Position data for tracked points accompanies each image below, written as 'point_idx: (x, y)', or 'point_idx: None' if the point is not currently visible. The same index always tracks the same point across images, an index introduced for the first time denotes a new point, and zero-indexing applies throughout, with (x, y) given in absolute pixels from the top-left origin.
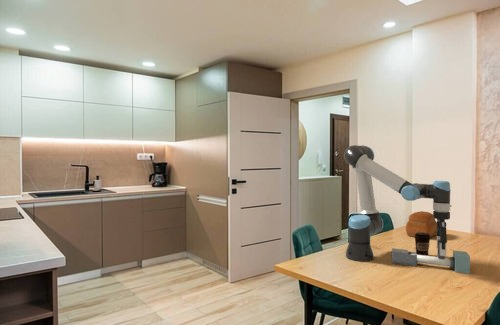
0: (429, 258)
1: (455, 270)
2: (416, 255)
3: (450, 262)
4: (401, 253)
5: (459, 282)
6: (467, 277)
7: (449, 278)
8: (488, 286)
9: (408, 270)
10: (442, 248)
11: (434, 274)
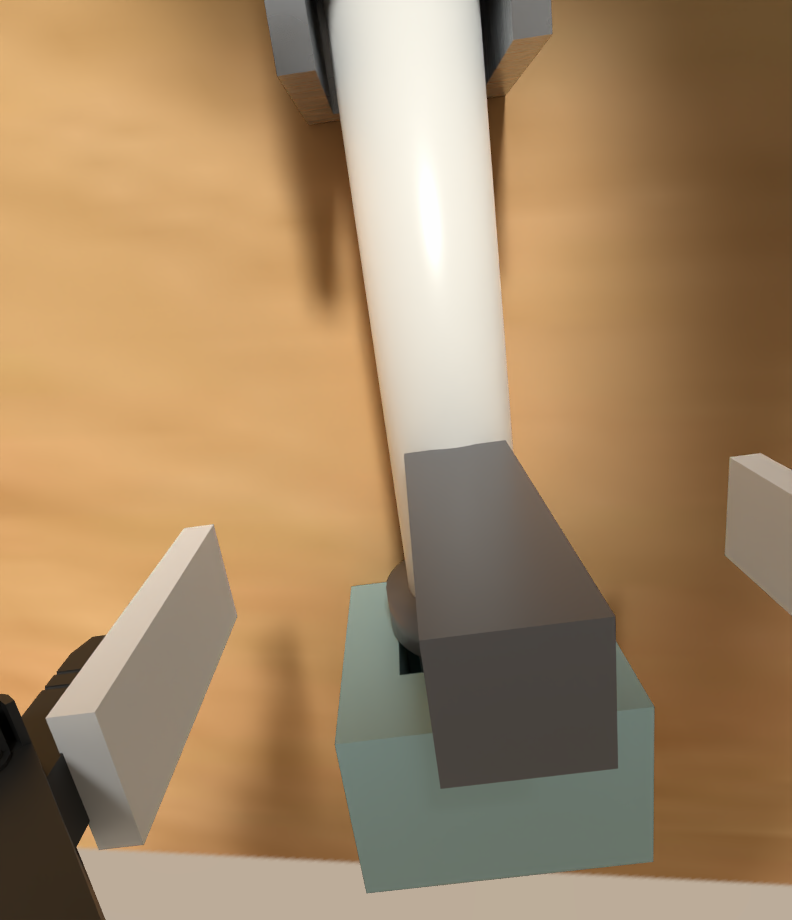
0: (382, 316)
1: (352, 596)
2: (278, 64)
3: (409, 589)
4: None
5: (10, 618)
6: (236, 681)
7: (72, 533)
8: None
9: (26, 10)
10: (77, 666)
11: (103, 379)
